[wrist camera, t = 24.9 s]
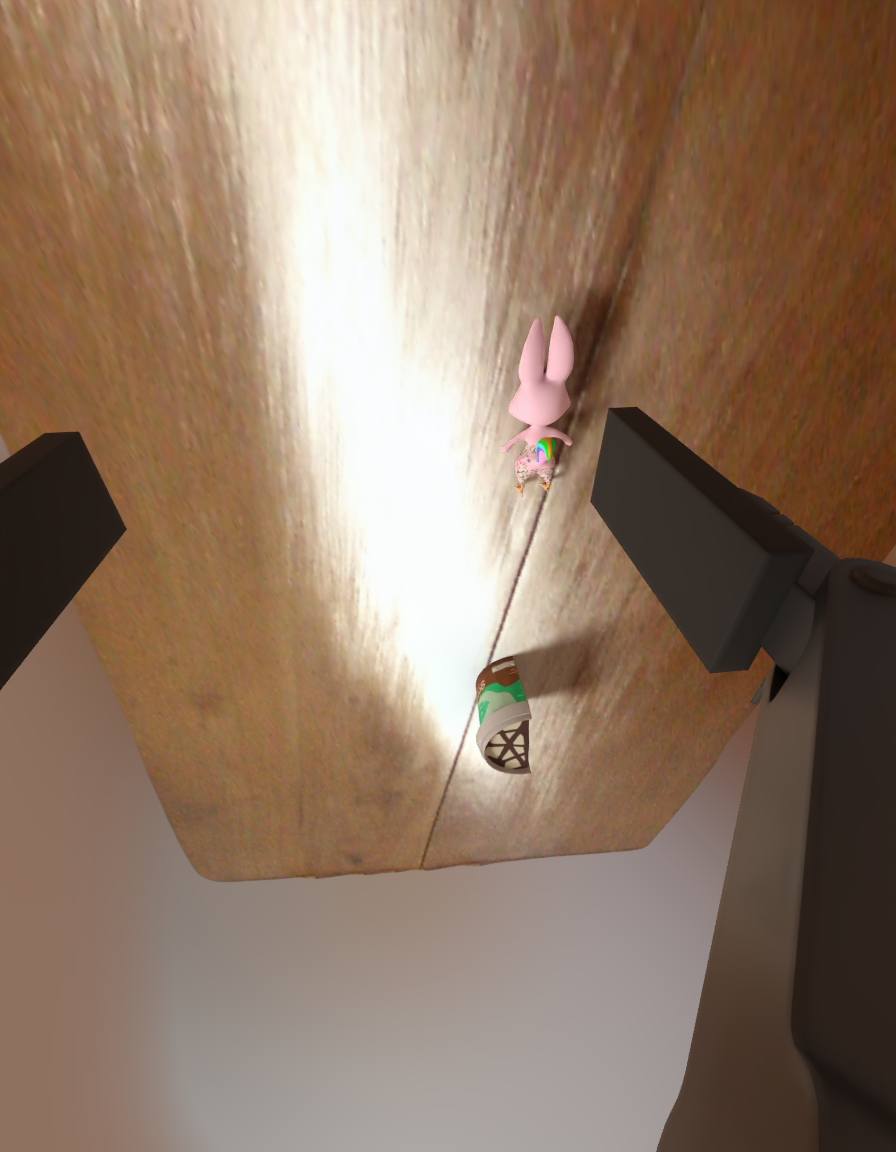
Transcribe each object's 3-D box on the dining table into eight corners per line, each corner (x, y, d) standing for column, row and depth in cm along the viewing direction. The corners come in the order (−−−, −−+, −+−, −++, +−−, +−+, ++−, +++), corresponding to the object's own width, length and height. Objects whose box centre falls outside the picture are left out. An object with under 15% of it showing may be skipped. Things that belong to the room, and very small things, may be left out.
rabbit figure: (558, 471, 47) (583, 304, 36) (577, 511, 43) (611, 335, 32) (495, 478, 47) (500, 312, 36) (507, 518, 43) (518, 344, 32)
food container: (463, 655, 60) (475, 724, 52) (512, 648, 60) (532, 715, 52) (470, 715, 67) (481, 783, 59) (513, 708, 67) (531, 775, 59)
